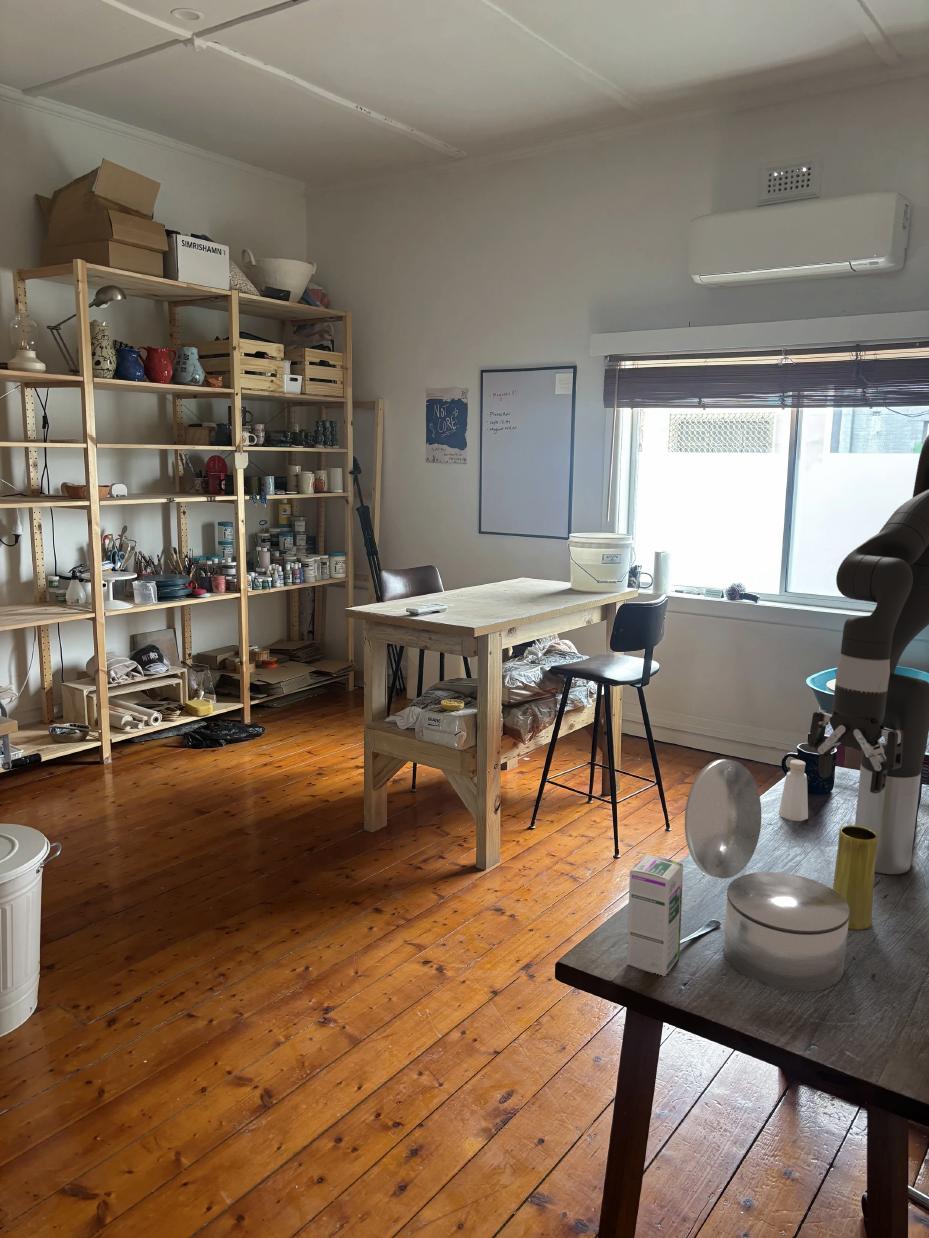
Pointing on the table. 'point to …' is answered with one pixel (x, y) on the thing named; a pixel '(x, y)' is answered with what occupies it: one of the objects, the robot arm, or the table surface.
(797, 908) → the steel pot
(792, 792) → the pepper shaker
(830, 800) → the table surface
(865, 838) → the vase
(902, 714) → the robot arm
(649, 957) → the syrup box
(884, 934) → the table surface
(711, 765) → the pot lid
